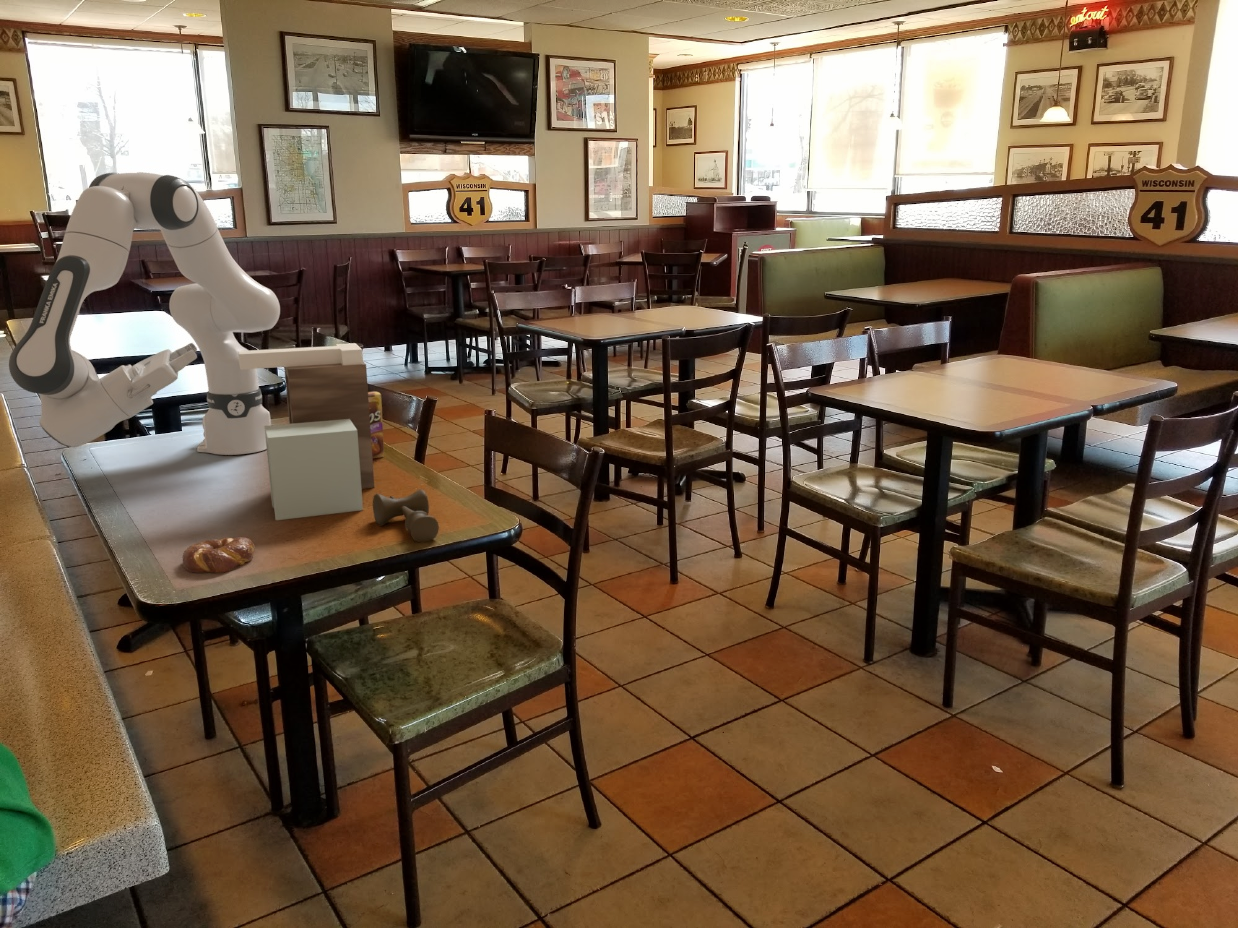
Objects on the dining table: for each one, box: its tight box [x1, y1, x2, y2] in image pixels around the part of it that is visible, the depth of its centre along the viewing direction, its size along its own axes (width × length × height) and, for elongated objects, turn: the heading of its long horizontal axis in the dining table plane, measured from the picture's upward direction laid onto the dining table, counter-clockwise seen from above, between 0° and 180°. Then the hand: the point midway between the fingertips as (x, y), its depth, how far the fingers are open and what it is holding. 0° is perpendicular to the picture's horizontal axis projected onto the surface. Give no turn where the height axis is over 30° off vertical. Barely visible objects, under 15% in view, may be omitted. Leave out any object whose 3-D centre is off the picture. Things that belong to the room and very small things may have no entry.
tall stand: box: [283, 361, 375, 490], centre depth 195 cm, size 10×15×26 cm, turn 113°
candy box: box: [368, 390, 385, 459], centre depth 217 cm, size 9×4×15 cm, turn 123°
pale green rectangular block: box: [264, 419, 364, 521], centre depth 182 cm, size 10×16×16 cm, turn 113°
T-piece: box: [238, 342, 364, 370], centre depth 189 cm, size 9×23×3 cm, turn 113°
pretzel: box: [182, 536, 256, 574], centre depth 157 cm, size 12×11×4 cm
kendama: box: [372, 489, 440, 543], centre depth 174 cm, size 6×10×20 cm
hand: (195, 349), depth 181 cm, fingers open, 8 cm apart
